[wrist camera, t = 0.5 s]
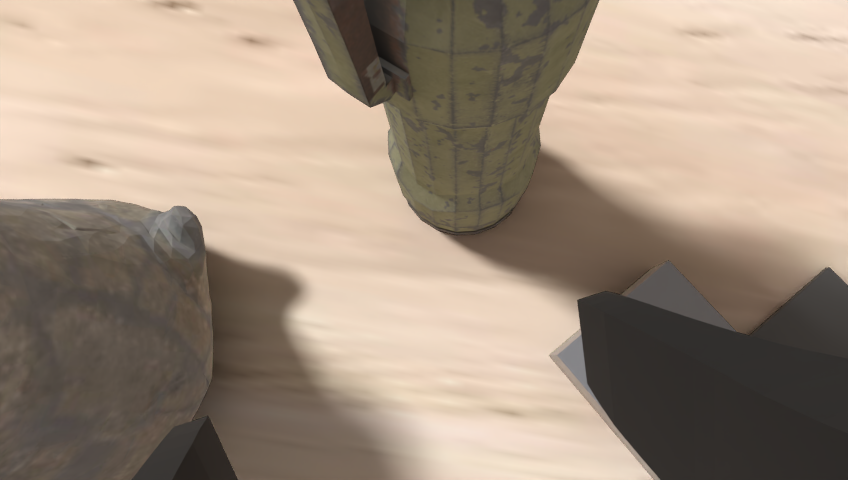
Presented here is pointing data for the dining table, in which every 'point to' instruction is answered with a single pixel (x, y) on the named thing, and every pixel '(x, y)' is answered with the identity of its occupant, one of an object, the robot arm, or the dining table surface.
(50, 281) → the vessel
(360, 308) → the dining table surface
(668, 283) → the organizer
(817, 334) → the coaster
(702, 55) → the dining table surface
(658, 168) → the dining table surface
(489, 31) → the thermos
